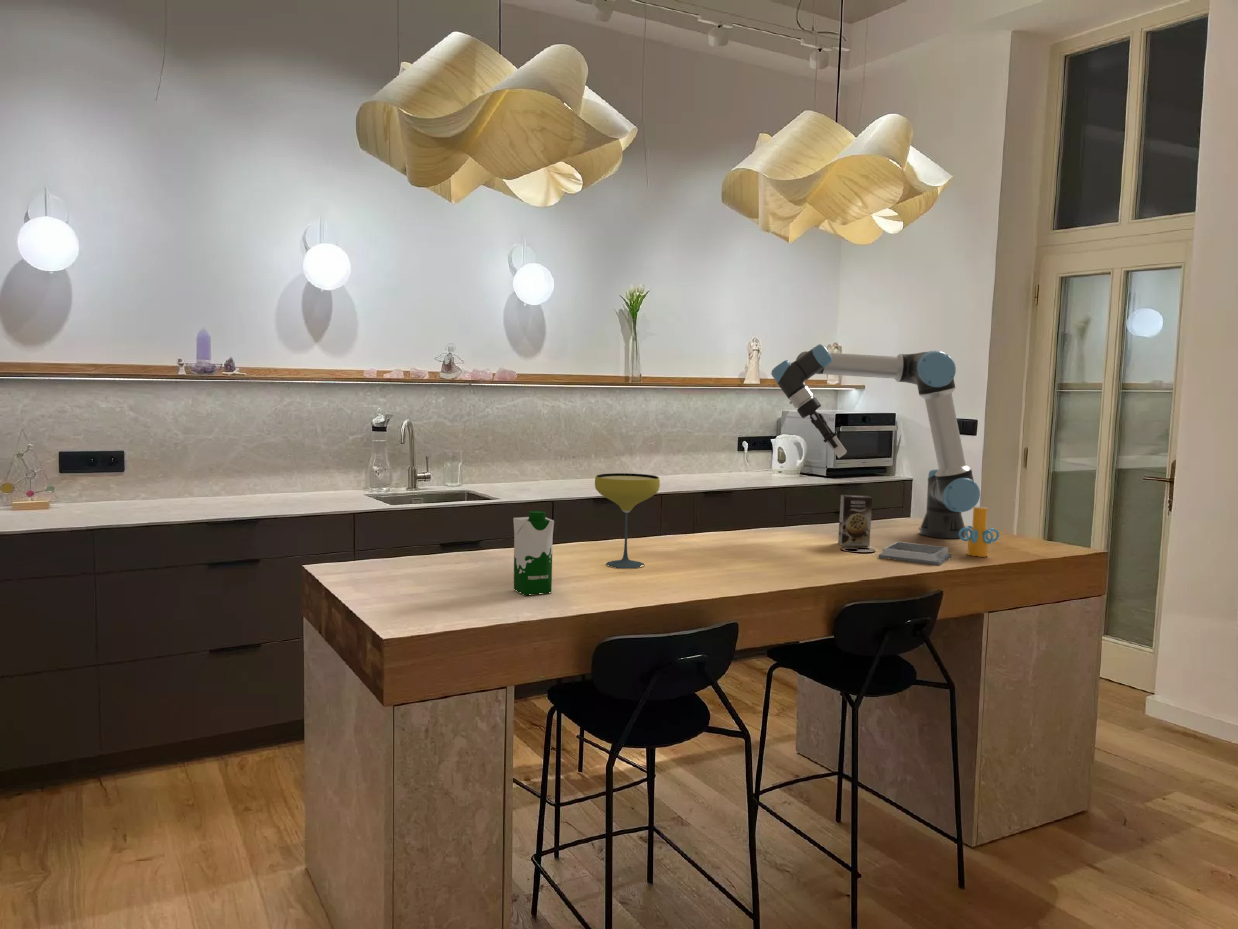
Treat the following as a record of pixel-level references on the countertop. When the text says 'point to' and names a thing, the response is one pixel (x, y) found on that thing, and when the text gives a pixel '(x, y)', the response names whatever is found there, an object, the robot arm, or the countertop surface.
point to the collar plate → (916, 553)
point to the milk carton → (533, 553)
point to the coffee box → (855, 520)
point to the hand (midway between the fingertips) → (843, 455)
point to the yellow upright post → (978, 534)
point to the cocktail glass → (626, 500)
